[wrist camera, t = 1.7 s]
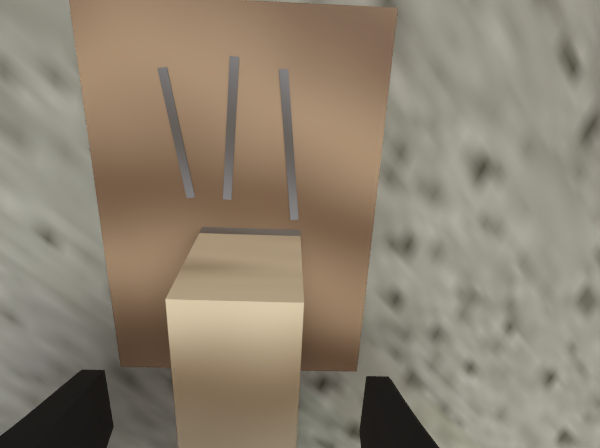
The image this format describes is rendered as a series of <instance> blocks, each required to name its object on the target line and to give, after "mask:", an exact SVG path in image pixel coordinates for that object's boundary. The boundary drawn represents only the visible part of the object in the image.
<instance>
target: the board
mask: <svg viewBox="0 0 600 448" xmlns="http://www.w3.org/2000/svg"><path fill="white" fill-rule="evenodd" d="M69 3H70V10H71V18H72V25H73V32H74V39H75V46H76V53H77V60H78V67H79V74H80V81H81V88H82V95H83V103H84V110H85V117H86V124H87V131H88V138H89V145H90V152H91V159H92V166H93V173H94V180H95V188H96V195H97V202H98V209H99V216H100V223H101V230H102V237H103V244H104V251H105V258H106V266H107V273H108V280H109V287H110V294H111V301H112V308H113V315H114V322H115V329H116V336H117V343H118V351H119V358H120V365H121V367H158V368H171V359H170V347H169V336H168V324H167V313H166V301H165V299H166V297H167V295H168V293H169V291H170V289H171V287H172V285H173V283H174V281H175V280H176V278H177V276H178V274H179V272H180V270H181V268H182V266H183V264H184V262H185V260H186V258H187V256H188V254H189V252H190V250H191V248H192V246H193V244H194V242H195V240H196V239H197V237H198V235H199V233H200V231H201V229H202V227H227V228H259V229H291V230H300V235H301V255H302V274H303V293H304V312H303V332H302V351H301V370H307V371H357V364H358V355H359V346H360V338H361V329H362V320H363V311H364V302H365V294H366V285H367V276H368V267H369V258H370V250H371V241H372V232H373V223H374V214H375V206H376V197H377V188H378V179H379V170H380V161H381V153H382V144H383V135H384V126H385V117H386V109H387V100H388V91H389V82H390V73H391V65H392V56H393V47H394V38H395V29H396V20H397V12H398V8H392V7H371V6H351V5H330V4H310V3H290V2H269V1H249V0H69Z"/></svg>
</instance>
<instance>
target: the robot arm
mask: <svg viewBox="0 0 600 448" xmlns="http://www.w3.org/2000/svg"><path fill="white" fill-rule="evenodd" d="M113 427H114V426H113V420H112V414H111V408H110V402H109V395H108V389H107V383H106V377H105V370H81V371H80V372H79V373H77V374H76V375H75V376H74V377H72V378H71V379H70V380H69V381H67V382H66V383H65V384H64V385H63V386H61V387H60V388H59V389H58V390H57V391H55V392H54V393H53V394H52V395H51V396H49V397H48V398H47V399H46V400H45V401H43V402H42V403H41V404H40V405H39V406H37V407H36V408H35V409H34V410H32V411H31V412H30V413H29V414H28V415H26V416H25V417H24V418H23V419H21V420H20V421H19V422H18V423H16V424H15V425H14V426H13V427H11V428H10V429H9V430H8V431H6V432H5V433H4V434H2V435H1V436H0V448H107V445H108V442H109V439H110V436H111V433H112V430H113ZM360 440H361V448H439V447H438V445H437V444H436V443H435V442H434V440H433V439H432V438H431V436H430V435H429V434H428V432H427V431H426V430H425V428H424V427H423V426H422V424H421V423H420V422H419V420H418V419H417V417H416V416H415V415H414V413H413V412H412V410H411V409H410V407H409V406H408V405H407V403H406V402H405V400H404V399H403V397H402V396H401V394H400V393H399V391H398V390H397V388H396V386H395V385H394V383H393V382H392V380H391V379H390V378H389V377H376V376H366V384H365V392H364V400H363V408H362V416H361V424H360Z"/></svg>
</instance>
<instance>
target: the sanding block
mask: <svg viewBox="0 0 600 448" xmlns="http://www.w3.org/2000/svg"><path fill="white" fill-rule="evenodd" d="M165 301H166V313H167V324H168V336H169V347H170V359H171V370H172V382H173V393H174V405H175V416H176V428H177V439H178V448H296V446H297V427H298V408H299V389H300V370H301V351H302V332H303V312H304V293H303V274H302V255H301V235H300V230H291V229H259V228H227V227H202V229H201V231H200V233H199V235H198V237H197V239H196V240H195V242H194V244H193V246H192V248H191V250H190V252H189V254H188V256H187V258H186V260H185V262H184V264H183V266H182V268H181V270H180V272H179V274H178V276H177V278H176V280H175V281H174V283H173V285H172V287H171V289H170V291H169V293H168V295H167V297H166V299H165Z"/></svg>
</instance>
